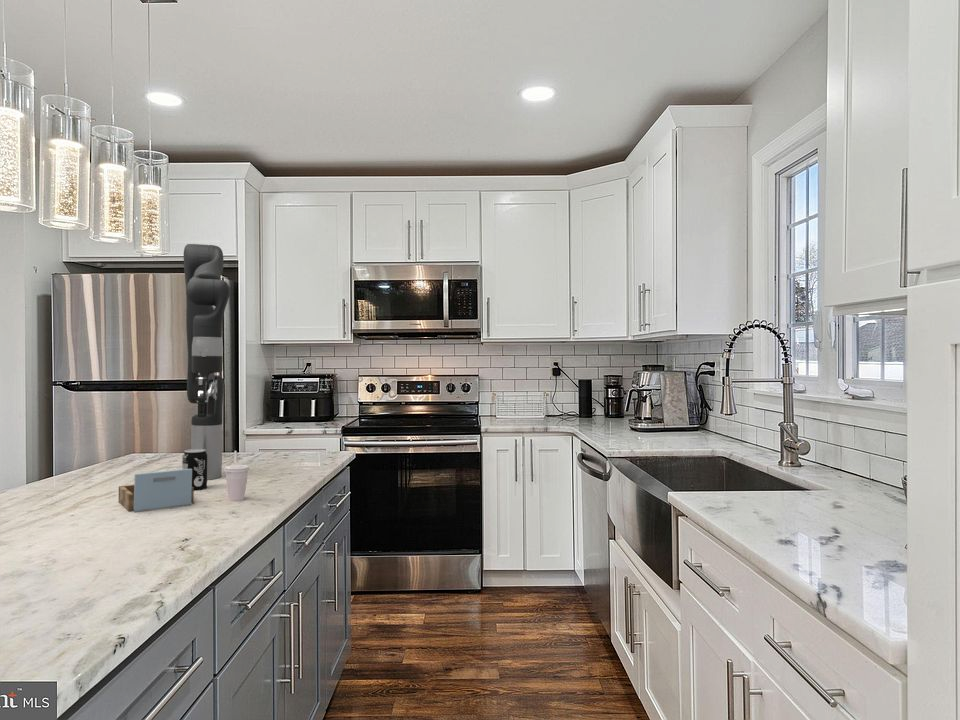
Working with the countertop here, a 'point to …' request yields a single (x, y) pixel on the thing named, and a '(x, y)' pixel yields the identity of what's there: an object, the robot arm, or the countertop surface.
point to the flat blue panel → (162, 490)
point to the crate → (128, 497)
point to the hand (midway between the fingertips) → (206, 415)
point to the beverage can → (196, 467)
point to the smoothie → (236, 480)
